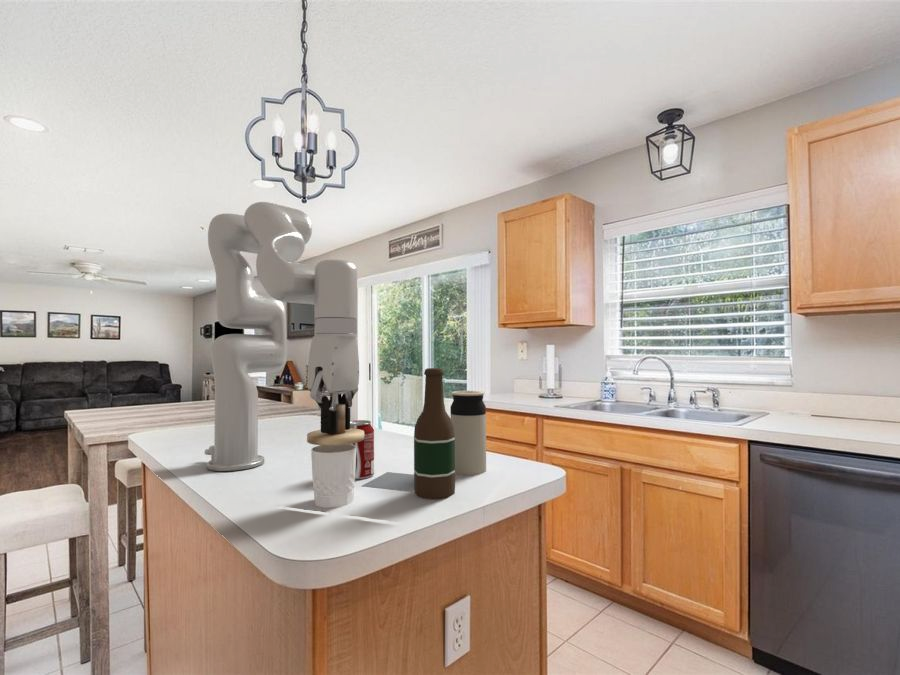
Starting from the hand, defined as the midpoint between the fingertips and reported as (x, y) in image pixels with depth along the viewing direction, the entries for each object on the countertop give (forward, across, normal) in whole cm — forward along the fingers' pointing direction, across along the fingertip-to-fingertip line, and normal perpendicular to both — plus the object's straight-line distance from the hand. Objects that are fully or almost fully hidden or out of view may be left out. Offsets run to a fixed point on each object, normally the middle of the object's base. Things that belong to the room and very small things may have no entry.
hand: (335, 430), depth 82 cm
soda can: (+13, -16, -5) cm, 21 cm away
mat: (+13, -15, +5) cm, 21 cm away
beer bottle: (+13, -10, +15) cm, 22 cm away
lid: (+2, 0, 0) cm, 2 cm away
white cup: (+13, 0, 0) cm, 13 cm away
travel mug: (+13, -28, +16) cm, 35 cm away
